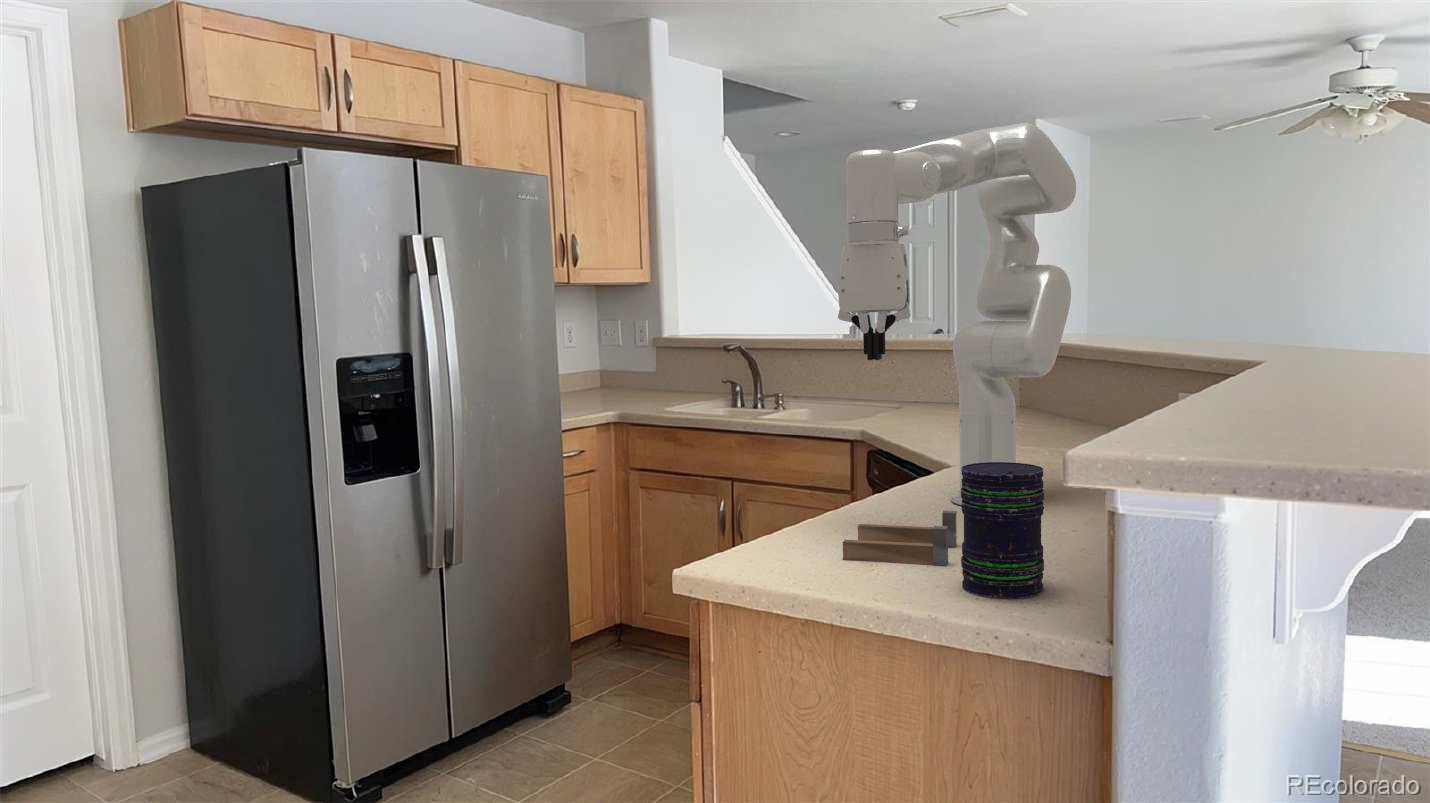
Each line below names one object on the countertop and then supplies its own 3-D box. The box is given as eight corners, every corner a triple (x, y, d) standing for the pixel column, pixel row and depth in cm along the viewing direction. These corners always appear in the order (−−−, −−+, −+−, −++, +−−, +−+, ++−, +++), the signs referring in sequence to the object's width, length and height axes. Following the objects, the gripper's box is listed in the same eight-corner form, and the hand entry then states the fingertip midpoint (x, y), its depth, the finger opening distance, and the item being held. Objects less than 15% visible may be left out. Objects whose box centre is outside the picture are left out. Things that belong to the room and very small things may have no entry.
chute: (860, 539, 152) (859, 507, 151) (956, 544, 147) (956, 510, 146) (842, 559, 140) (842, 524, 140) (946, 565, 136) (946, 529, 135)
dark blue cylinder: (950, 578, 129) (950, 463, 128) (1025, 575, 130) (1025, 460, 128) (976, 601, 119) (976, 476, 118) (1057, 597, 120) (1057, 473, 119)
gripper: (927, 234, 150) (928, 357, 152) (829, 239, 155) (831, 358, 157) (920, 231, 143) (921, 360, 145) (817, 237, 148) (820, 361, 150)
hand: (874, 359), depth 151 cm, fingers closed
